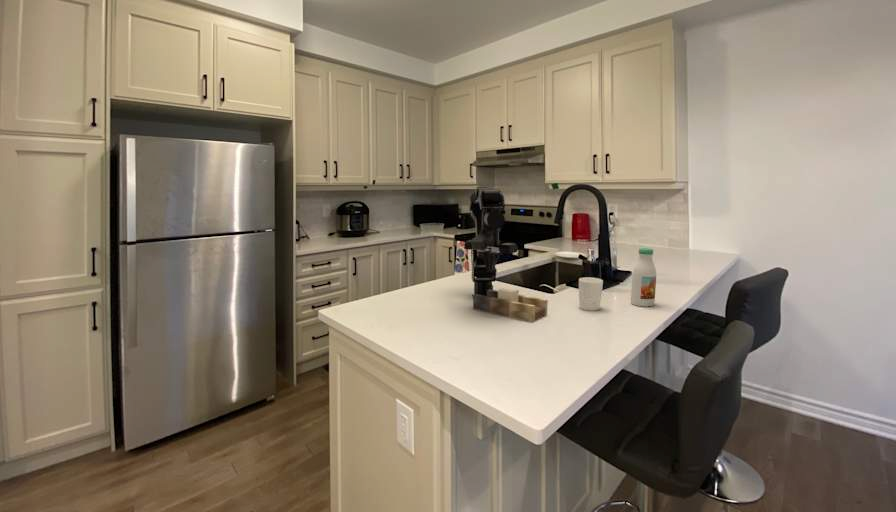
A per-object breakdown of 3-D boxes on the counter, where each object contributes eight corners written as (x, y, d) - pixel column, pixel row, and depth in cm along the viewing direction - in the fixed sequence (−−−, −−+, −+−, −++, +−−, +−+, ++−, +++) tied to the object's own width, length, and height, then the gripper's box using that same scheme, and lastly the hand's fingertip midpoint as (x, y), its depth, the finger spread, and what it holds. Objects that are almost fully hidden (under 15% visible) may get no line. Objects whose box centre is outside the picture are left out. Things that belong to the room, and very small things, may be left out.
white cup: (598, 305, 150) (599, 277, 148) (604, 311, 142) (605, 282, 140) (575, 304, 150) (576, 277, 149) (580, 310, 143) (581, 282, 141)
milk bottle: (630, 306, 148) (634, 249, 145) (630, 300, 155) (633, 246, 152) (655, 308, 145) (659, 251, 142) (653, 302, 152) (657, 247, 149)
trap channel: (473, 308, 146) (473, 294, 145) (489, 302, 154) (489, 289, 153) (532, 321, 131) (532, 306, 131) (547, 314, 139) (547, 299, 138)
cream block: (497, 304, 142) (498, 290, 141) (505, 301, 146) (505, 287, 145) (510, 307, 139) (510, 292, 138) (518, 303, 143) (518, 289, 142)
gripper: (454, 226, 143) (454, 271, 145) (500, 229, 131) (500, 278, 133) (473, 224, 151) (473, 266, 154) (519, 227, 139) (518, 273, 142)
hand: (489, 271), depth 145 cm, fingers closed
